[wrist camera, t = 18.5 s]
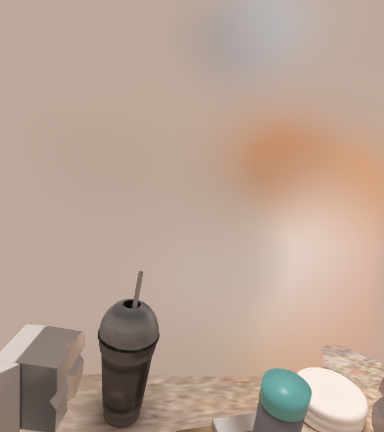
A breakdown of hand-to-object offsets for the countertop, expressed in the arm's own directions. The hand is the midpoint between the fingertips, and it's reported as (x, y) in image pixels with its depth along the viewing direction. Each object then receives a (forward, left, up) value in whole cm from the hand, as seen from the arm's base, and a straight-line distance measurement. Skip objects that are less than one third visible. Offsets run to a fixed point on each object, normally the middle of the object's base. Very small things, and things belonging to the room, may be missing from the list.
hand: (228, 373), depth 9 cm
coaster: (+31, +25, -30) cm, 50 cm away
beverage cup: (+2, +29, -30) cm, 42 cm away
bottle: (+16, +16, -28) cm, 36 cm away
